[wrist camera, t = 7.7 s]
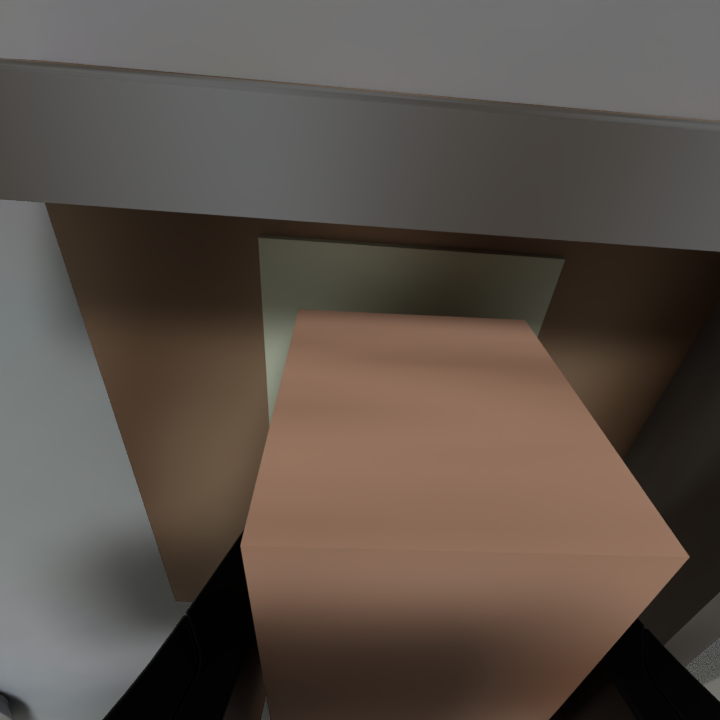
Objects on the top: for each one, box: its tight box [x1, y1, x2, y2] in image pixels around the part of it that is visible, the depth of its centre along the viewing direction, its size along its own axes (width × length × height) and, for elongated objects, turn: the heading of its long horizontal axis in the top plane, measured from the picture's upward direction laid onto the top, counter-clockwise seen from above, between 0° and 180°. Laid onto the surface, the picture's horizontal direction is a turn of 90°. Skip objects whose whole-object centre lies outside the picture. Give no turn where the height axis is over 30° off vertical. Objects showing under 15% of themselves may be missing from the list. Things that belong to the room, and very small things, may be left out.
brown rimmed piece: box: [0, 58, 720, 667], centre depth 11 cm, size 16×18×5 cm
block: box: [240, 309, 689, 720], centre depth 8 cm, size 8×4×5 cm, turn 177°
